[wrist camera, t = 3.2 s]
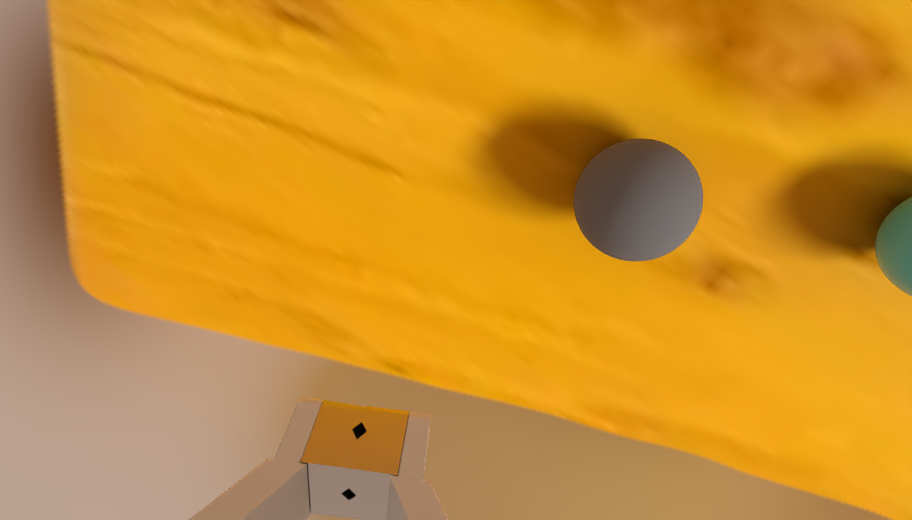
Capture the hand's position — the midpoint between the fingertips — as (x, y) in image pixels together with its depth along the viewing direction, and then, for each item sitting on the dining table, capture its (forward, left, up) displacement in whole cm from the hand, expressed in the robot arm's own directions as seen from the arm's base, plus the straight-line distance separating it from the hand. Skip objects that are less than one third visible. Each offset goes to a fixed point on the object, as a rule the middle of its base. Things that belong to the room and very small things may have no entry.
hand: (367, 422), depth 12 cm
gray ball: (+8, +5, -14) cm, 17 cm away
